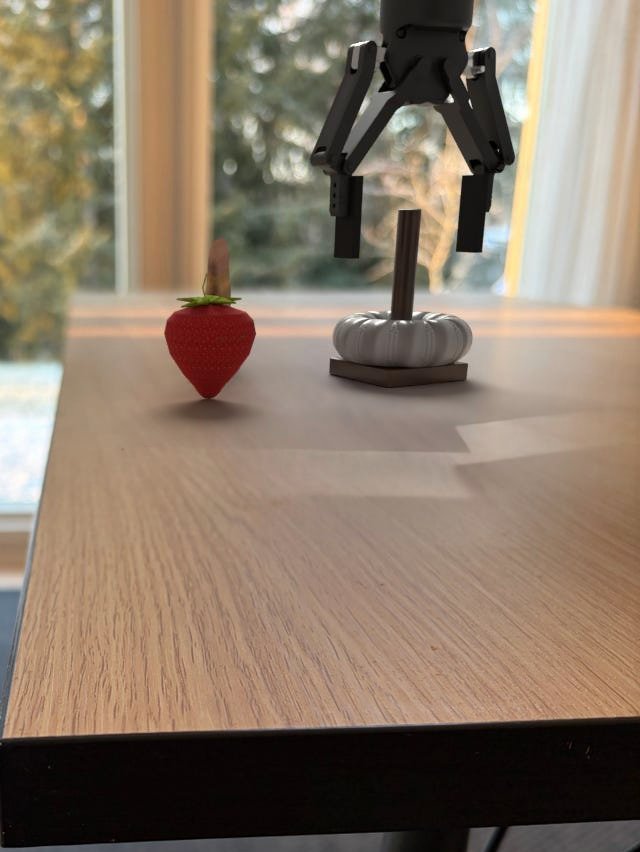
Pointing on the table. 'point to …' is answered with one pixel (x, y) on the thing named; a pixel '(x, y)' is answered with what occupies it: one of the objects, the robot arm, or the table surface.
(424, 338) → the ring
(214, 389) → the strawberry
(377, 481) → the table surface
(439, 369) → the stand
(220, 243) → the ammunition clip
